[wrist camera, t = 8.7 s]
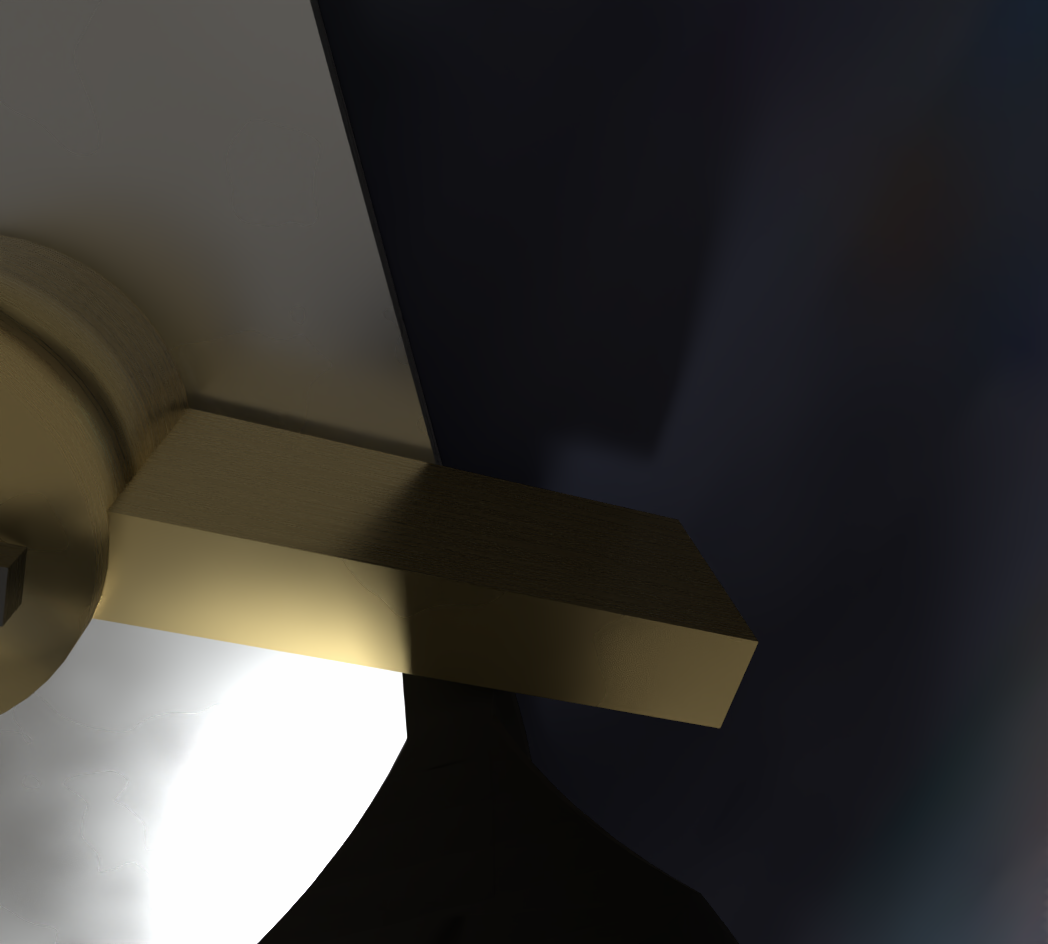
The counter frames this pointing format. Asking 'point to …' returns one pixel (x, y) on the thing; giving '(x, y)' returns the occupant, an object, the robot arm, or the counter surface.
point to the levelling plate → (220, 388)
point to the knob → (314, 534)
